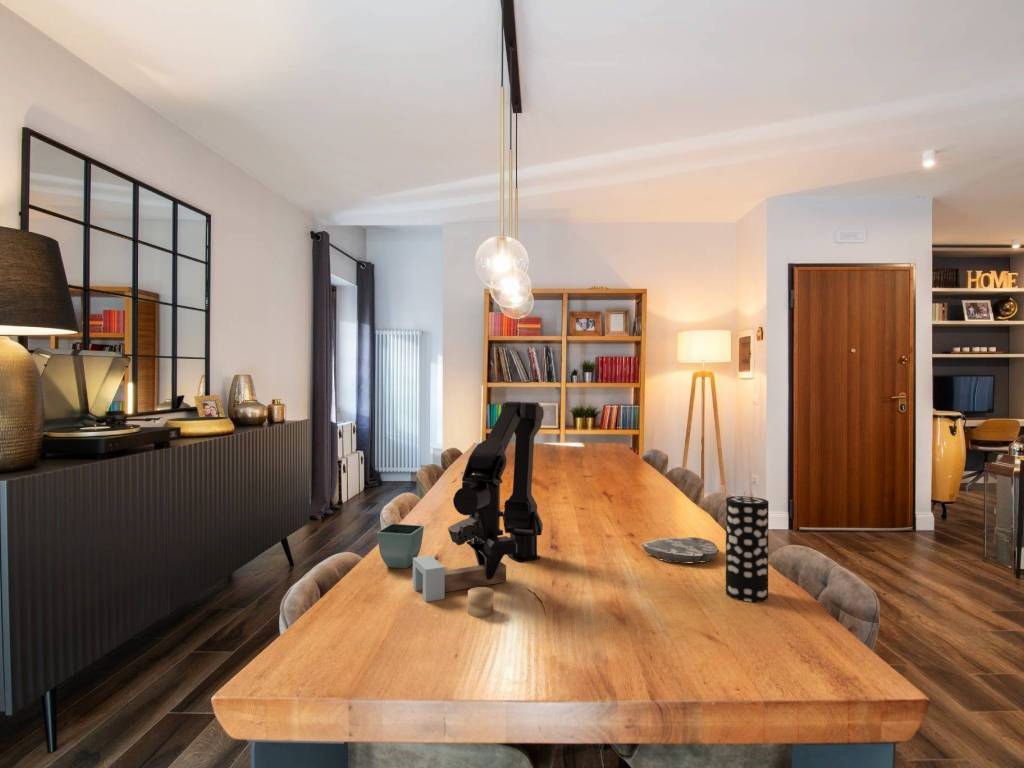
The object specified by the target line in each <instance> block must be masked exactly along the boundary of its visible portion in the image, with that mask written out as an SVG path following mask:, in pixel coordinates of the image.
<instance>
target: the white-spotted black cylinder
mask: <svg viewBox="0 0 1024 768" xmlns="http://www.w3.org/2000/svg"><path fill="white" fill-rule="evenodd" d="M725 595H727V596H728V595H729V596H730V597H729V596H728V597H729V598H731V597H732V598H731V599H734V598H735V599H734V600H737V599H738V600H737V601H740V600H742V602H745V601H749V602H748V603H758V602H757V601H763V602H765V601H764V600H766V599H767V598H768V599H769V500H767V499H765V498H761V497H754V496H743V495H741V496H739V495H736V496H735V495H734V496H728V497H726V498H725ZM768 599H767V600H768ZM767 600H766V601H767Z"/></svg>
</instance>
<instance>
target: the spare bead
mask: <svg viewBox="0 0 1024 768" xmlns="http://www.w3.org/2000/svg"><path fill="white" fill-rule="evenodd" d="M494 591H495V590H494V589H493V588H490V587H486V586H478V587H472V588H469V590H467V614H468V615H469V616H471V617H473V618H475V617H476V618H486V617H490V616H492V615H493V614H494V611H495V609H494V608H495V605H494V604H495V599H494V598H495V592H494Z"/></svg>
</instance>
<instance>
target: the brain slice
mask: <svg viewBox="0 0 1024 768" xmlns="http://www.w3.org/2000/svg"><path fill="white" fill-rule="evenodd" d="M641 547H642V548H643V550H644V551H645V552H646V554H648V555H649V554H651V555H653V556H652V557H654V556H655V557H654V558H656V557H657V558H656V559H657V560H659V559H663V561H664V560H666V561H679V562H698V561H707V562H709V561H710V560H712V559H713V558H715V557H716V556H717V554H718V553H719V551H720V549H719V548H718V546H717V545H716V544H715V542H713V541H710V540H708V539H705V538H701V537H696V536H695V537H694V536H692V537H682V538H680V537H662V538H661V537H660V538H655V539H654V540H649V541H645V542H642V543H641ZM651 555H650V556H651ZM708 560H709V561H708ZM666 561H665V562H666ZM679 562H678V563H679ZM698 563H699V562H698Z"/></svg>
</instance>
